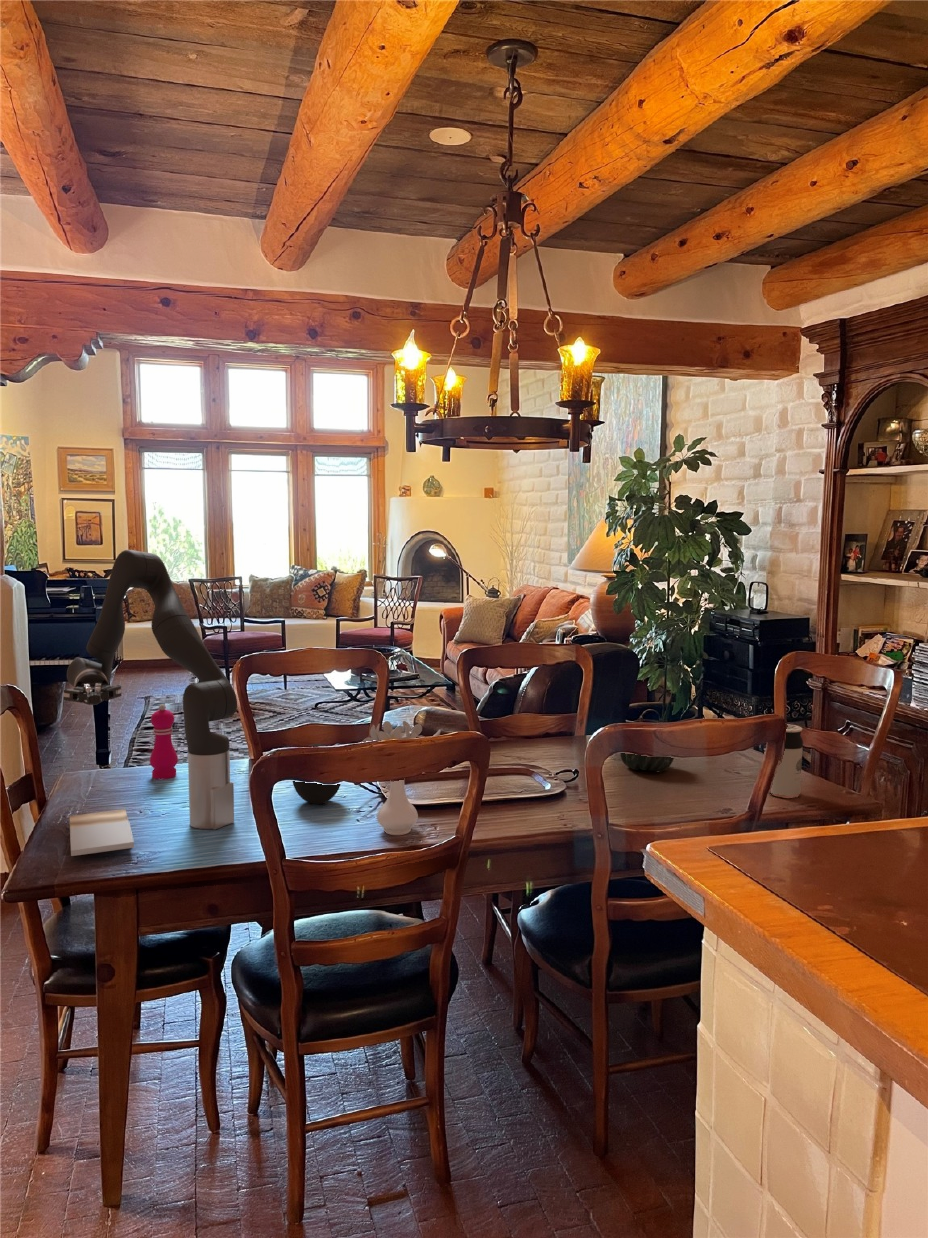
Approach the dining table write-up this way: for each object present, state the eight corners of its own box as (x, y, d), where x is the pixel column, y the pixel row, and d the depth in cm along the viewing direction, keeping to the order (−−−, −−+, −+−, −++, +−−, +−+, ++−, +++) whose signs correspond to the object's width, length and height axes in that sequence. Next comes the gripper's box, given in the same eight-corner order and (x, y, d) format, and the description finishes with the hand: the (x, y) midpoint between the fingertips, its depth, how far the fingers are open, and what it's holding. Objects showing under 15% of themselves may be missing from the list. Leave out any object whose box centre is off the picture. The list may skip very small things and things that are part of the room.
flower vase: (448, 833, 198) (449, 725, 196) (371, 845, 190) (371, 733, 188) (425, 815, 210) (425, 713, 207) (351, 826, 202) (351, 720, 199)
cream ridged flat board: (69, 824, 202) (69, 815, 201) (125, 817, 207) (125, 809, 206) (71, 855, 183) (70, 846, 183) (132, 846, 188) (131, 837, 188)
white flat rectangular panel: (69, 828, 190) (70, 850, 178) (128, 820, 195) (133, 842, 183) (70, 833, 190) (71, 856, 178) (129, 825, 195) (134, 847, 183)
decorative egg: (352, 803, 219) (352, 744, 217) (313, 815, 210) (312, 753, 208) (321, 792, 227) (320, 735, 225) (281, 803, 218) (281, 744, 216)
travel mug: (761, 793, 230) (764, 726, 228) (778, 788, 235) (782, 722, 233) (788, 801, 224) (792, 732, 222) (805, 795, 228) (809, 728, 226)
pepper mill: (162, 781, 235) (160, 708, 232) (144, 777, 238) (142, 705, 236) (183, 775, 241) (181, 703, 238) (166, 771, 244) (164, 700, 242)
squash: (609, 743, 258) (626, 713, 248) (656, 742, 262) (674, 713, 251) (622, 785, 249) (640, 755, 238) (670, 783, 253) (690, 755, 242)
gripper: (60, 672, 207) (60, 685, 191) (120, 668, 212) (125, 681, 197) (61, 703, 208) (62, 719, 192) (121, 699, 213) (126, 714, 198)
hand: (94, 700), depth 194 cm, fingers closed
